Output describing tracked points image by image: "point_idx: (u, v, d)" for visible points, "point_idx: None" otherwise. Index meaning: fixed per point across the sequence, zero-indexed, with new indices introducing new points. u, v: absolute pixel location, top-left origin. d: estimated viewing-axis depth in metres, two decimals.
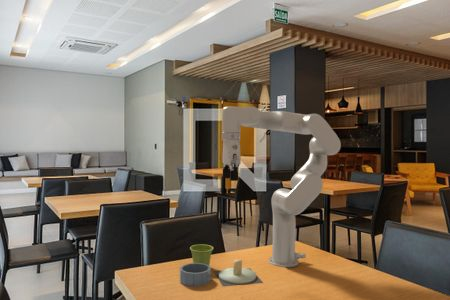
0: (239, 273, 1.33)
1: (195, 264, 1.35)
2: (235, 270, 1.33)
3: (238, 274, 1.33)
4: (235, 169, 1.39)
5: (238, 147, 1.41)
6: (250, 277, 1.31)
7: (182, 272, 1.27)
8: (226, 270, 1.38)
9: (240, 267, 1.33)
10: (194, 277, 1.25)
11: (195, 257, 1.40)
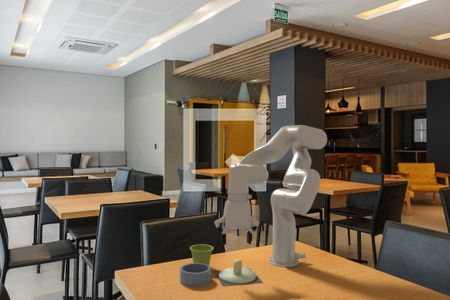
0: (239, 273, 1.33)
1: (195, 264, 1.35)
2: (235, 270, 1.33)
3: (238, 274, 1.33)
4: None
5: None
6: (250, 277, 1.31)
7: (182, 272, 1.27)
8: (226, 269, 1.38)
9: (240, 267, 1.33)
10: (194, 277, 1.25)
11: (195, 257, 1.40)
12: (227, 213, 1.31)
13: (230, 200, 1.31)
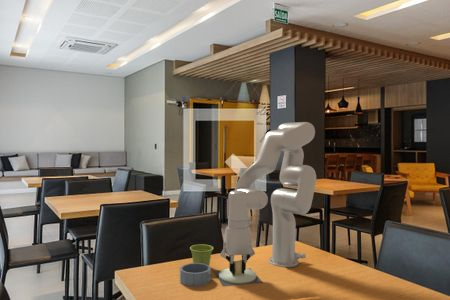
0: (239, 273, 1.33)
1: (195, 264, 1.35)
2: (235, 270, 1.33)
3: (238, 274, 1.33)
4: None
5: None
6: (250, 277, 1.31)
7: (182, 272, 1.27)
8: (226, 269, 1.38)
9: (240, 267, 1.33)
10: (194, 277, 1.25)
11: (195, 257, 1.40)
12: (227, 240, 1.31)
13: (230, 227, 1.31)
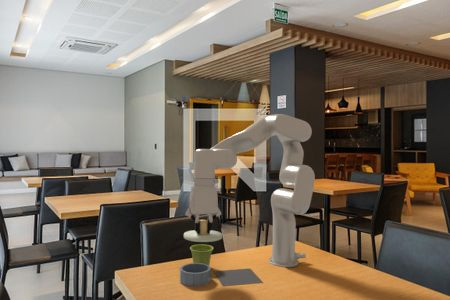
0: (204, 233, 1.29)
1: (195, 264, 1.35)
2: (200, 230, 1.29)
3: (204, 234, 1.29)
4: None
5: None
6: (215, 236, 1.27)
7: (182, 272, 1.27)
8: (193, 231, 1.35)
9: (206, 227, 1.29)
10: (194, 277, 1.25)
11: (195, 257, 1.40)
12: (192, 198, 1.27)
13: (195, 185, 1.28)
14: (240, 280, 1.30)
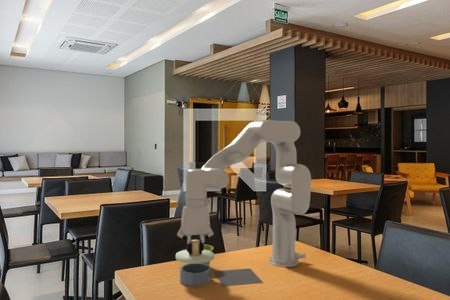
0: (196, 253, 1.29)
1: (195, 264, 1.35)
2: (192, 250, 1.29)
3: (196, 254, 1.28)
4: None
5: None
6: (207, 257, 1.27)
7: (182, 272, 1.27)
8: (185, 251, 1.34)
9: (197, 247, 1.29)
10: (194, 277, 1.25)
11: None
12: (184, 219, 1.27)
13: (187, 205, 1.27)
14: (240, 280, 1.30)
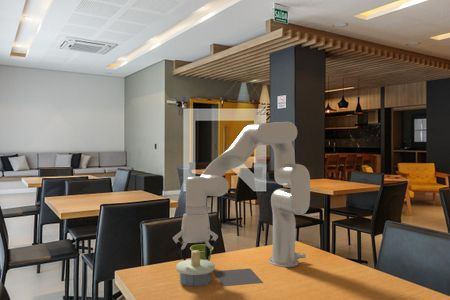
0: (197, 264, 1.29)
1: None
2: (193, 261, 1.29)
3: (196, 265, 1.29)
4: None
5: None
6: (207, 268, 1.27)
7: None
8: (185, 261, 1.34)
9: (198, 258, 1.29)
10: (194, 277, 1.25)
11: None
12: (184, 227, 1.27)
13: (187, 213, 1.27)
14: (240, 280, 1.30)
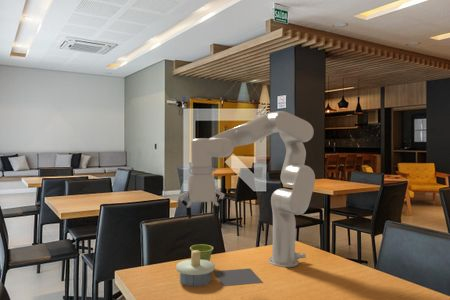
0: (197, 264, 1.29)
1: None
2: (193, 261, 1.29)
3: (196, 265, 1.29)
4: None
5: None
6: (207, 268, 1.27)
7: None
8: (185, 261, 1.34)
9: (198, 258, 1.29)
10: (194, 277, 1.25)
11: None
12: (191, 186, 1.31)
13: (193, 173, 1.31)
14: (240, 280, 1.30)
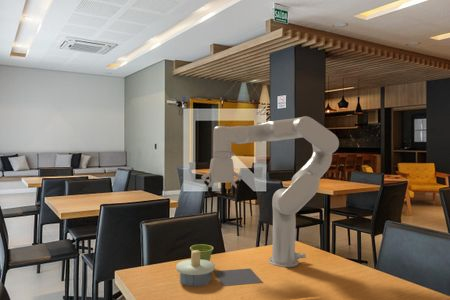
0: (197, 264, 1.29)
1: None
2: (193, 261, 1.29)
3: (196, 265, 1.29)
4: None
5: None
6: (207, 268, 1.27)
7: None
8: (185, 261, 1.34)
9: (198, 258, 1.29)
10: (194, 277, 1.25)
11: None
12: (212, 168, 1.48)
13: (215, 157, 1.48)
14: (240, 280, 1.30)
